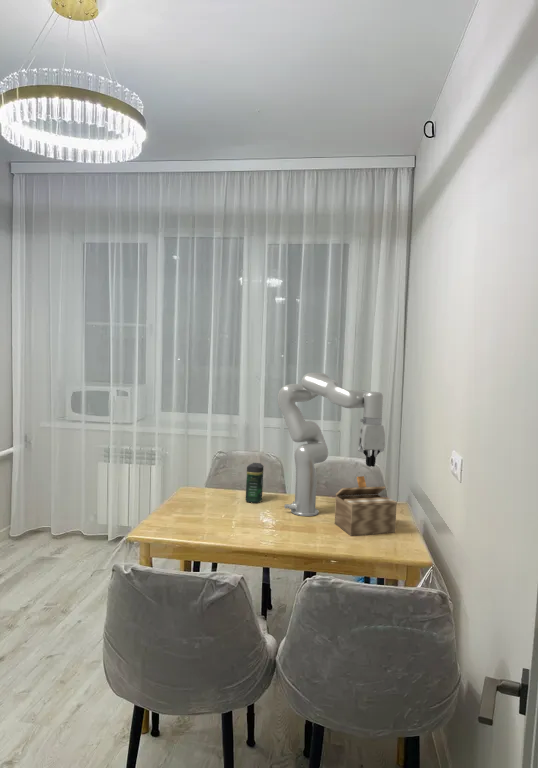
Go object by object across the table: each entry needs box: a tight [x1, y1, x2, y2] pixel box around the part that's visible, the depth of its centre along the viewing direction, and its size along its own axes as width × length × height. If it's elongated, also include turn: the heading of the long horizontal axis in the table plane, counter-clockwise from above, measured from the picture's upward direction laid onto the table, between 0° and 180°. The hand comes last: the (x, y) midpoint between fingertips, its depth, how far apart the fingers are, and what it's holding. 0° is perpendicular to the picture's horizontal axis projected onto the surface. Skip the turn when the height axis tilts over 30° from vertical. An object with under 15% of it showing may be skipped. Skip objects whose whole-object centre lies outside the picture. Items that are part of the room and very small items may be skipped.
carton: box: [334, 494, 398, 537], centre depth 219 cm, size 20×16×13 cm
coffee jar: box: [245, 462, 264, 504], centre depth 256 cm, size 10×8×19 cm
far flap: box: [335, 475, 386, 497], centre depth 225 cm, size 20×8×6 cm
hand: (370, 465), depth 216 cm, fingers closed
